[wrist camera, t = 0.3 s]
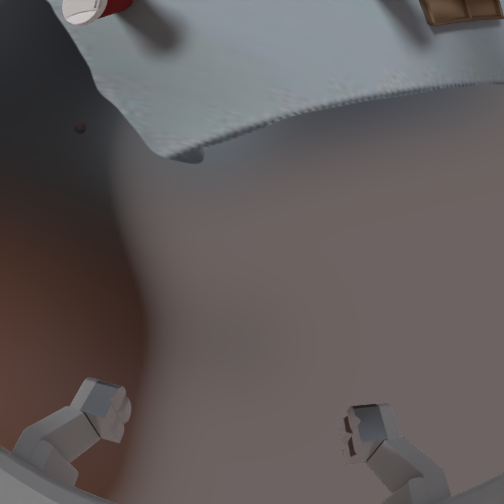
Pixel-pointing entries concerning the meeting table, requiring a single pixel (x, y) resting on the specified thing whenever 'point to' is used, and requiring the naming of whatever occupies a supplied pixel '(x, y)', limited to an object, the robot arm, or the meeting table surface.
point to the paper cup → (91, 9)
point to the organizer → (460, 10)
